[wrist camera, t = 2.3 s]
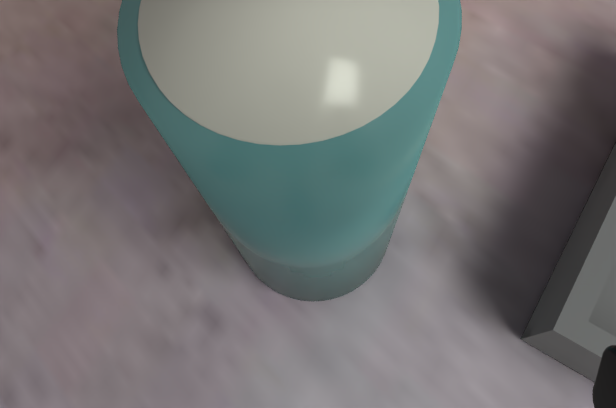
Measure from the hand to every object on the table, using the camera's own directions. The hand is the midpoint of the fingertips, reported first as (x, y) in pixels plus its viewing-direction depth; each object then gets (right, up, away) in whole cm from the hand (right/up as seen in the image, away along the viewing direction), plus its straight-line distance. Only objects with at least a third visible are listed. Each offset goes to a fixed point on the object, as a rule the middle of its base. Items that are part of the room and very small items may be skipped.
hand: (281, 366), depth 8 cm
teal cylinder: (+1, +1, +13) cm, 13 cm away
